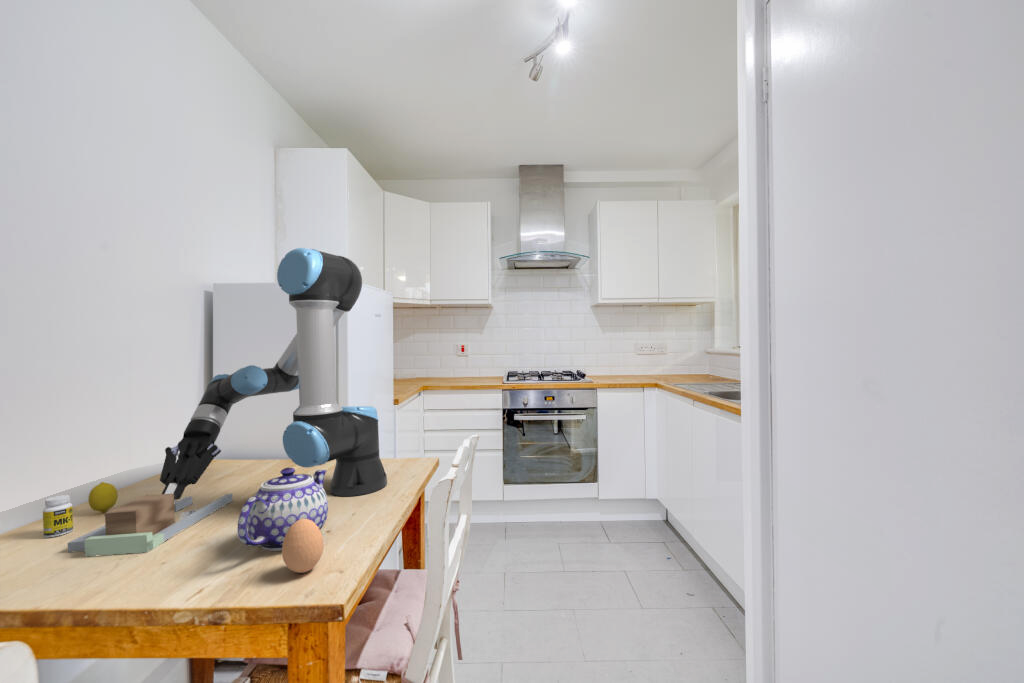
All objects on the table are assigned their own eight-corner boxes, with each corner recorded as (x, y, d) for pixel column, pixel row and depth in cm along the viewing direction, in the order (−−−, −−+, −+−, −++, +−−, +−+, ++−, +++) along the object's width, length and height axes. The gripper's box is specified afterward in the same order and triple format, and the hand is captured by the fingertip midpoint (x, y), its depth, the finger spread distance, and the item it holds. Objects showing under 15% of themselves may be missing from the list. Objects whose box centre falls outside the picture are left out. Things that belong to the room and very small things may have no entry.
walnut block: (148, 530, 100) (146, 495, 100) (175, 528, 101) (173, 493, 101) (106, 552, 89) (104, 513, 89) (137, 550, 90) (135, 511, 90)
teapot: (274, 574, 77) (270, 489, 77) (204, 568, 80) (201, 486, 81) (357, 517, 101) (354, 453, 101) (301, 515, 105) (298, 452, 105)
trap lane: (163, 505, 117) (162, 492, 117) (232, 500, 118) (232, 487, 118) (53, 559, 87) (52, 541, 87) (147, 552, 88) (146, 535, 88)
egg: (309, 582, 74) (306, 527, 74) (274, 580, 75) (271, 526, 75) (332, 562, 80) (329, 512, 80) (299, 561, 81) (297, 512, 81)
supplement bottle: (53, 538, 98) (52, 501, 98) (37, 538, 99) (36, 500, 99) (78, 529, 103) (77, 494, 103) (63, 529, 104) (62, 493, 104)
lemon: (114, 507, 117) (113, 477, 117) (120, 511, 114) (119, 480, 114) (86, 514, 113) (85, 483, 113) (91, 518, 110) (90, 486, 110)
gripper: (236, 431, 121) (200, 517, 105) (187, 434, 120) (143, 520, 104) (224, 416, 115) (183, 503, 99) (172, 418, 115) (123, 507, 99)
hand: (163, 512), depth 102 cm, fingers closed
